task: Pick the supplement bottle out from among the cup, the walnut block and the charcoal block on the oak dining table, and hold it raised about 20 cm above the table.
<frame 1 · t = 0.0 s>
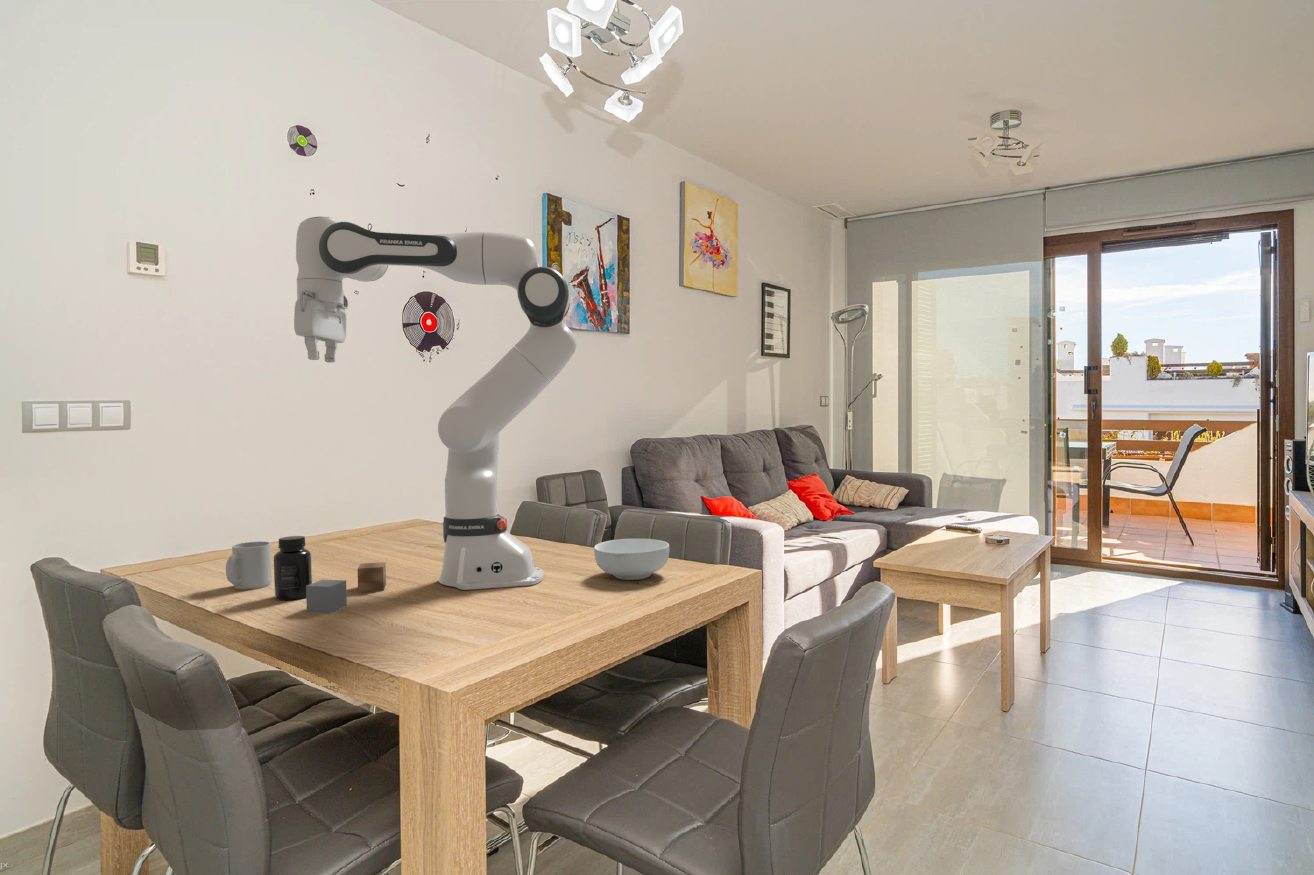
hand: (322, 361, 157), 48 cm above the table, fingers open, 8 cm apart
cereal bowl: (632, 576, 165), on the table
supplement bottle: (293, 597, 149), on the table
charcoal block: (327, 609, 140), on the table
cup: (247, 588, 157), on the table
walnut block: (372, 588, 155), on the table
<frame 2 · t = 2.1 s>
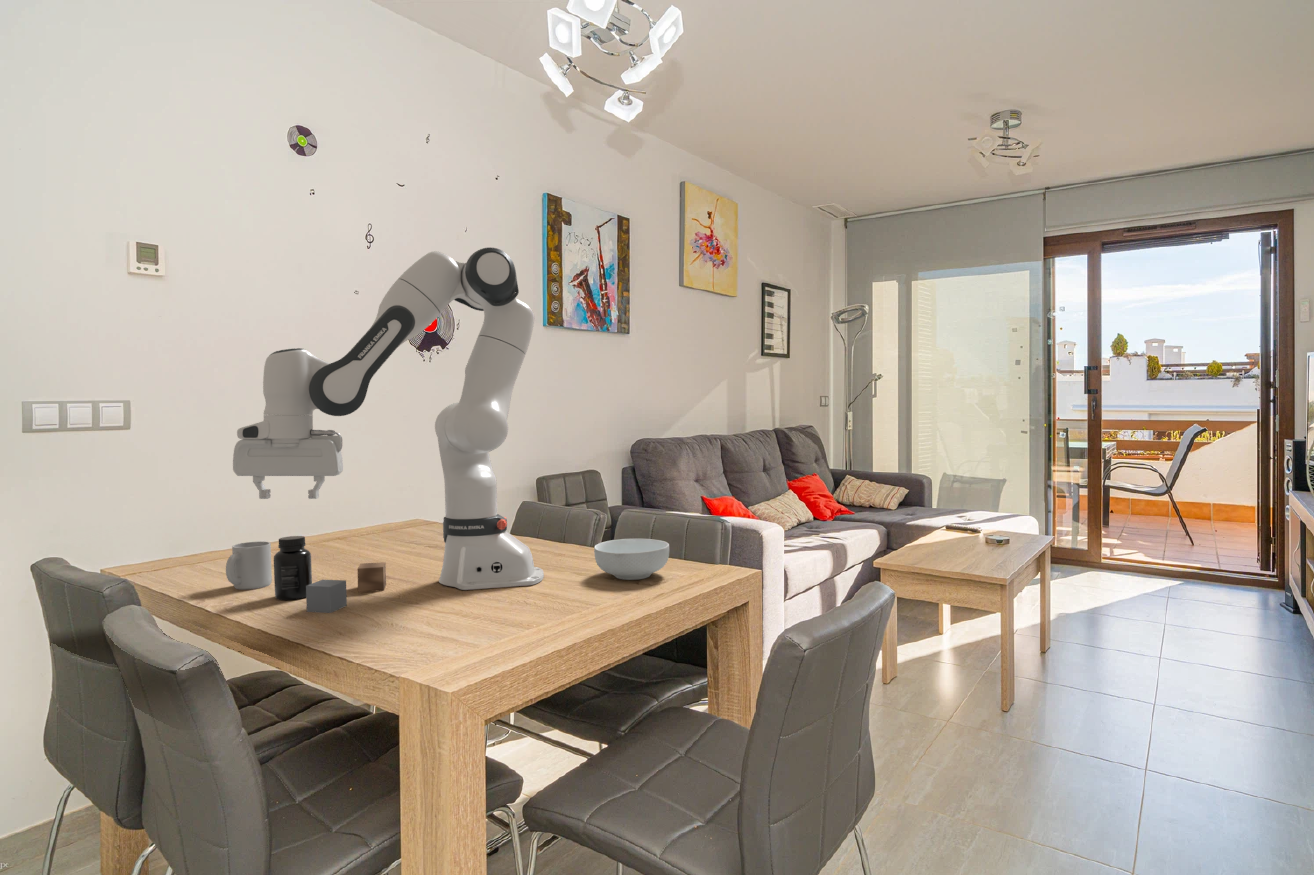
hand: (289, 498, 148), 20 cm above the table, fingers open, 8 cm apart
nothing on the table moved.
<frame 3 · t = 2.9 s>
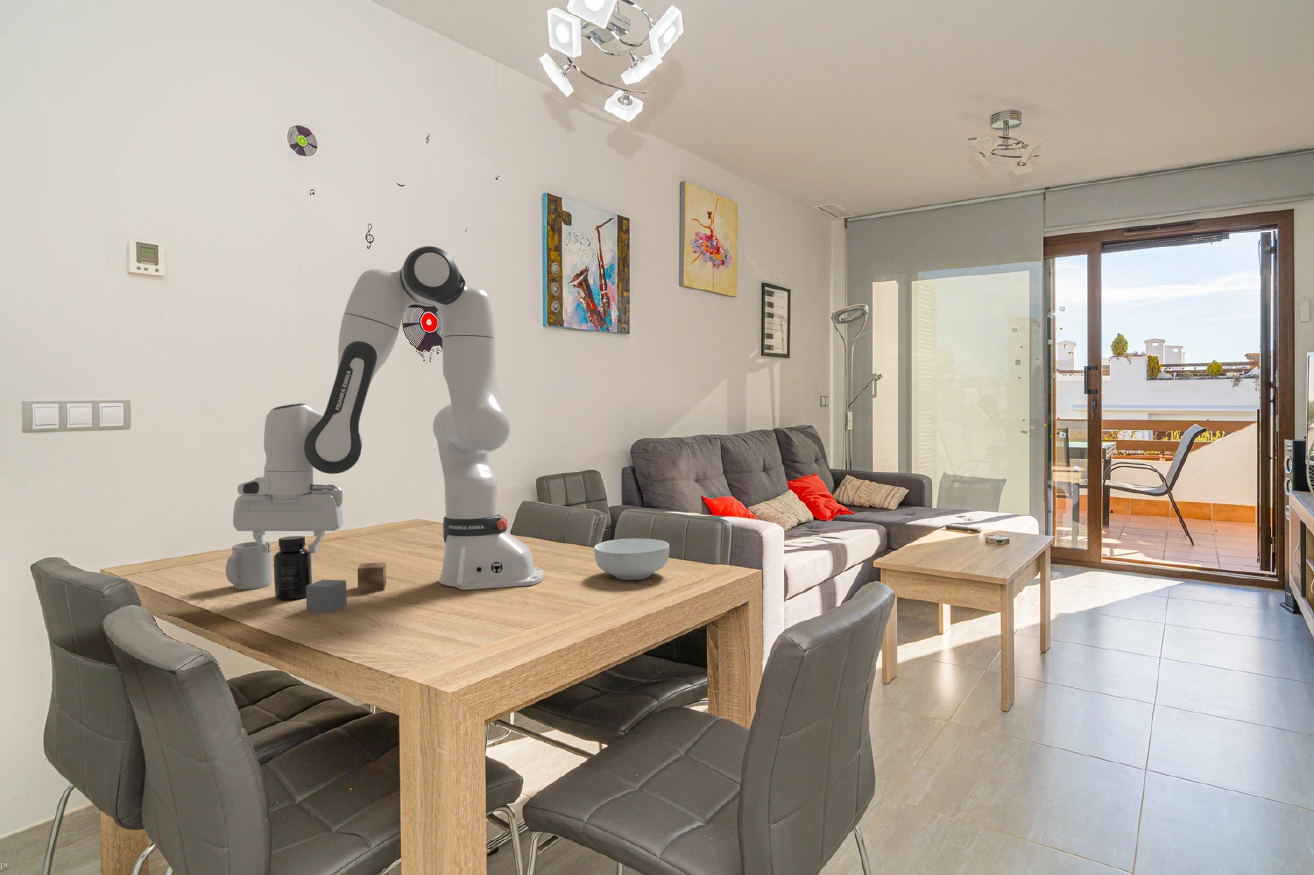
hand: (289, 552, 149), 9 cm above the table, fingers open, 8 cm apart
nothing on the table moved.
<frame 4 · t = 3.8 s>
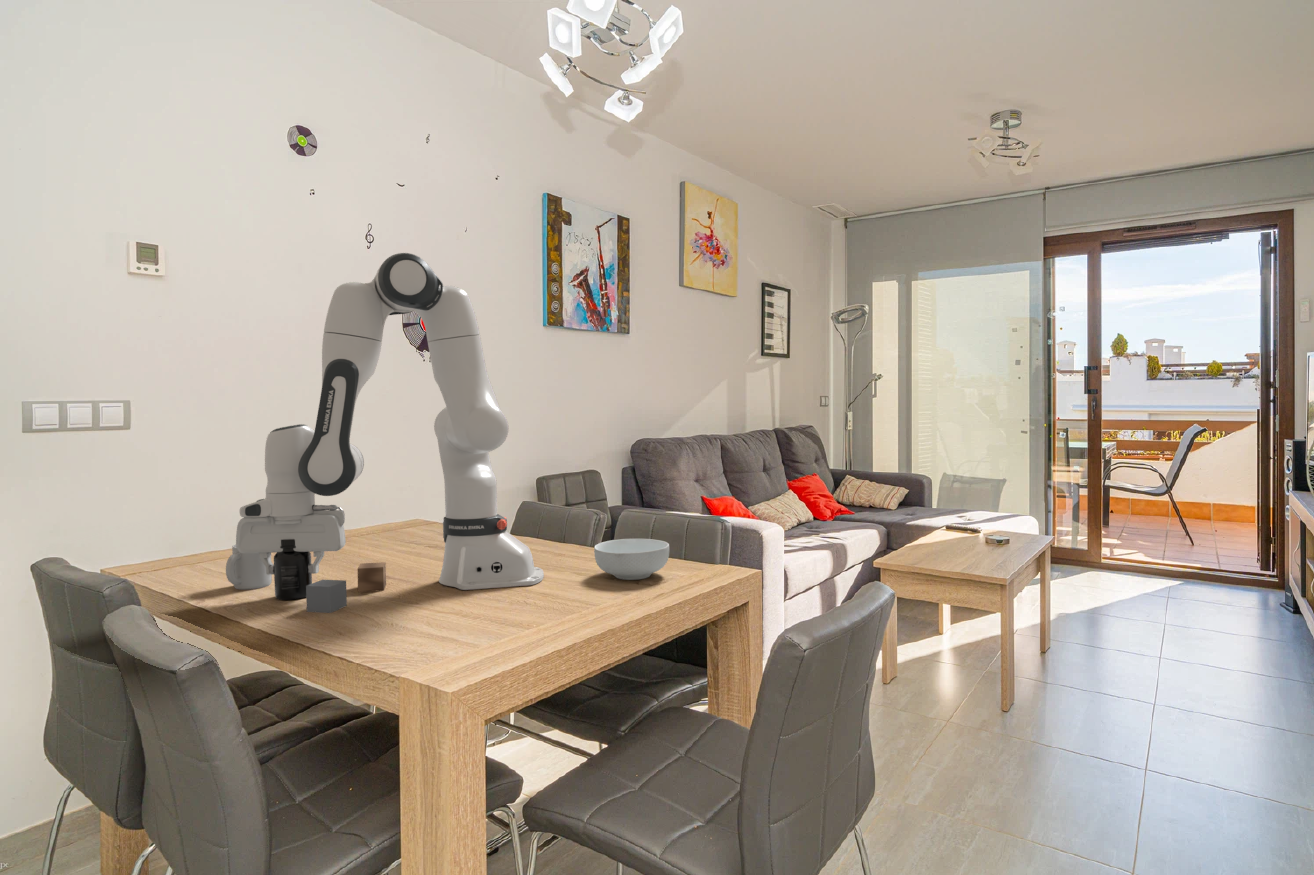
hand: (292, 573, 149), 5 cm above the table, fingers closed on supplement bottle, 7 cm apart
supplement bottle: (293, 597, 149), on the table, touching gripper
everything else where it was.
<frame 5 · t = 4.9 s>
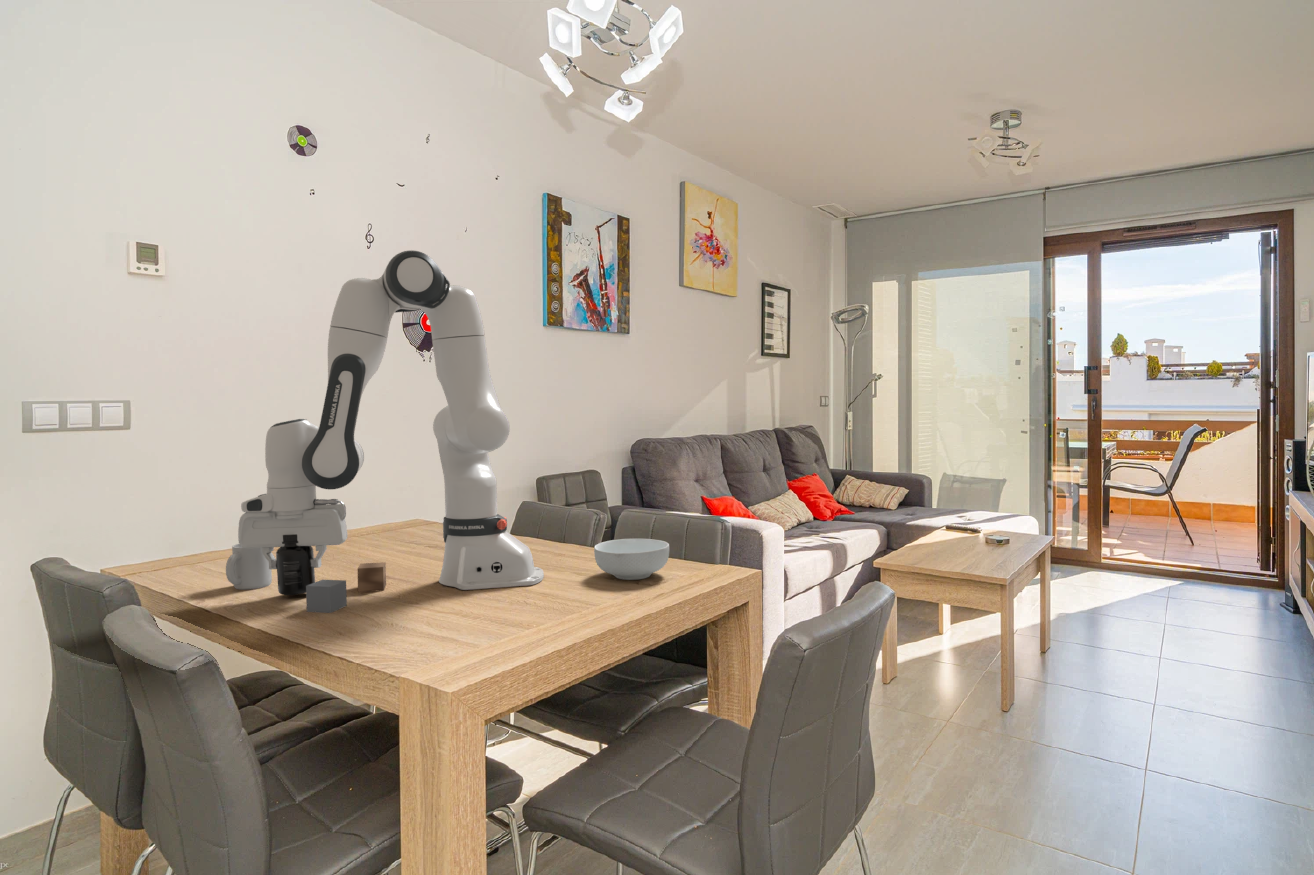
hand: (295, 568, 149), 6 cm above the table, fingers closed on supplement bottle, 7 cm apart
supplement bottle: (297, 592, 150), point 1 cm above the table, touching gripper
everything else where it was.
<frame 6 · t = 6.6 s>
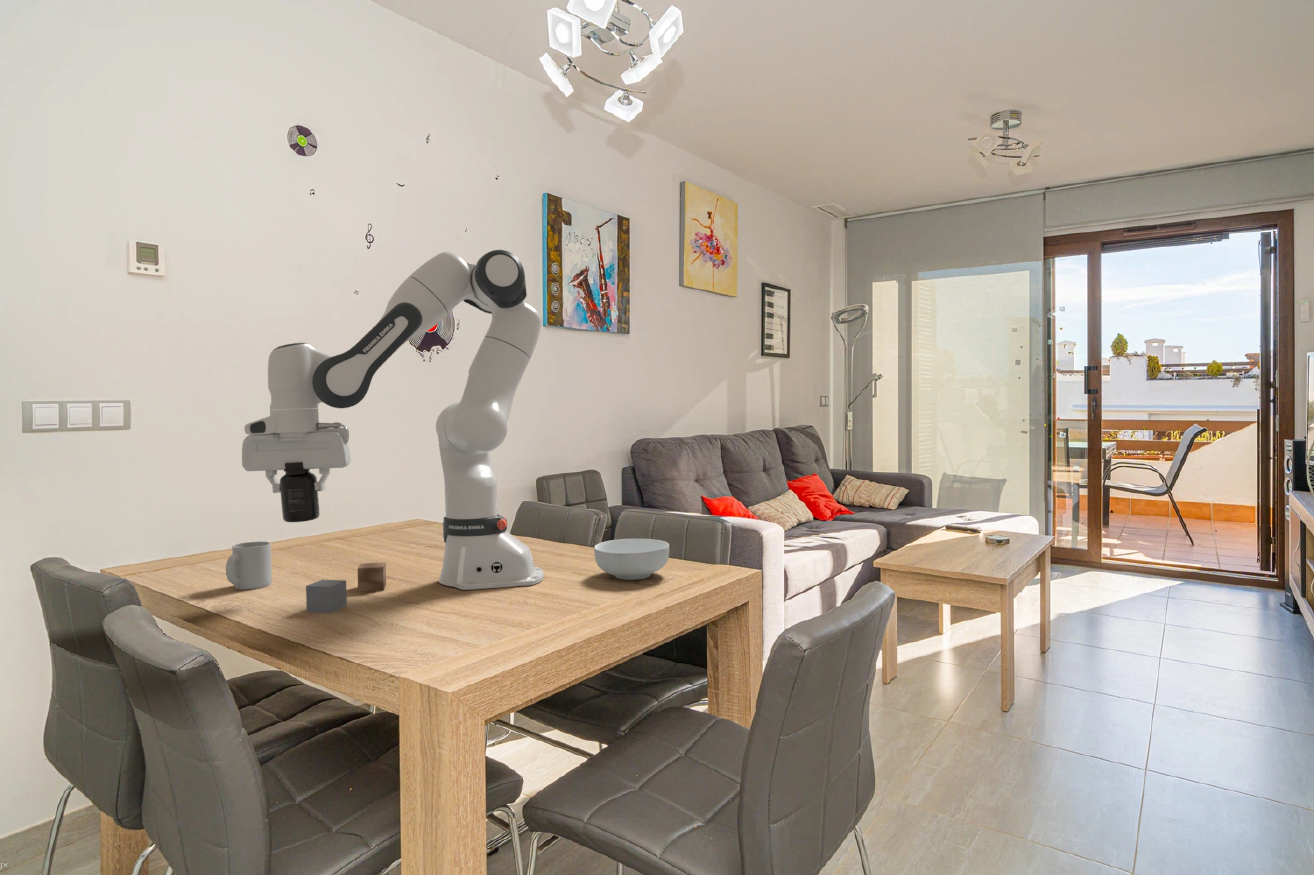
hand: (299, 491, 150), 21 cm above the table, fingers closed on supplement bottle, 7 cm apart
supplement bottle: (301, 520, 151), point 15 cm above the table, touching gripper
everything else where it was.
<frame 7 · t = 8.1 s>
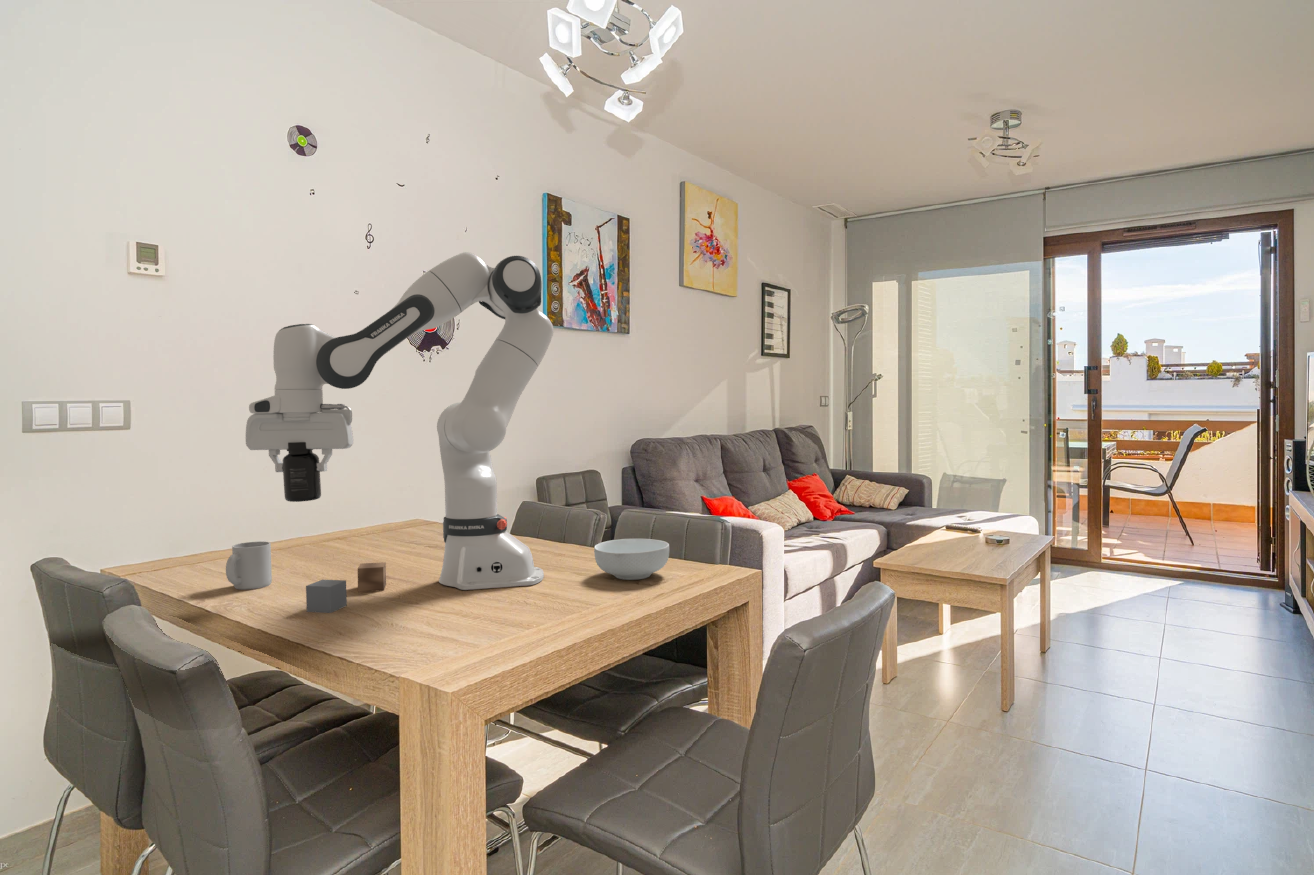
hand: (301, 471, 151), 25 cm above the table, fingers closed on supplement bottle, 7 cm apart
supplement bottle: (303, 500, 152), point 19 cm above the table, touching gripper
everything else where it was.
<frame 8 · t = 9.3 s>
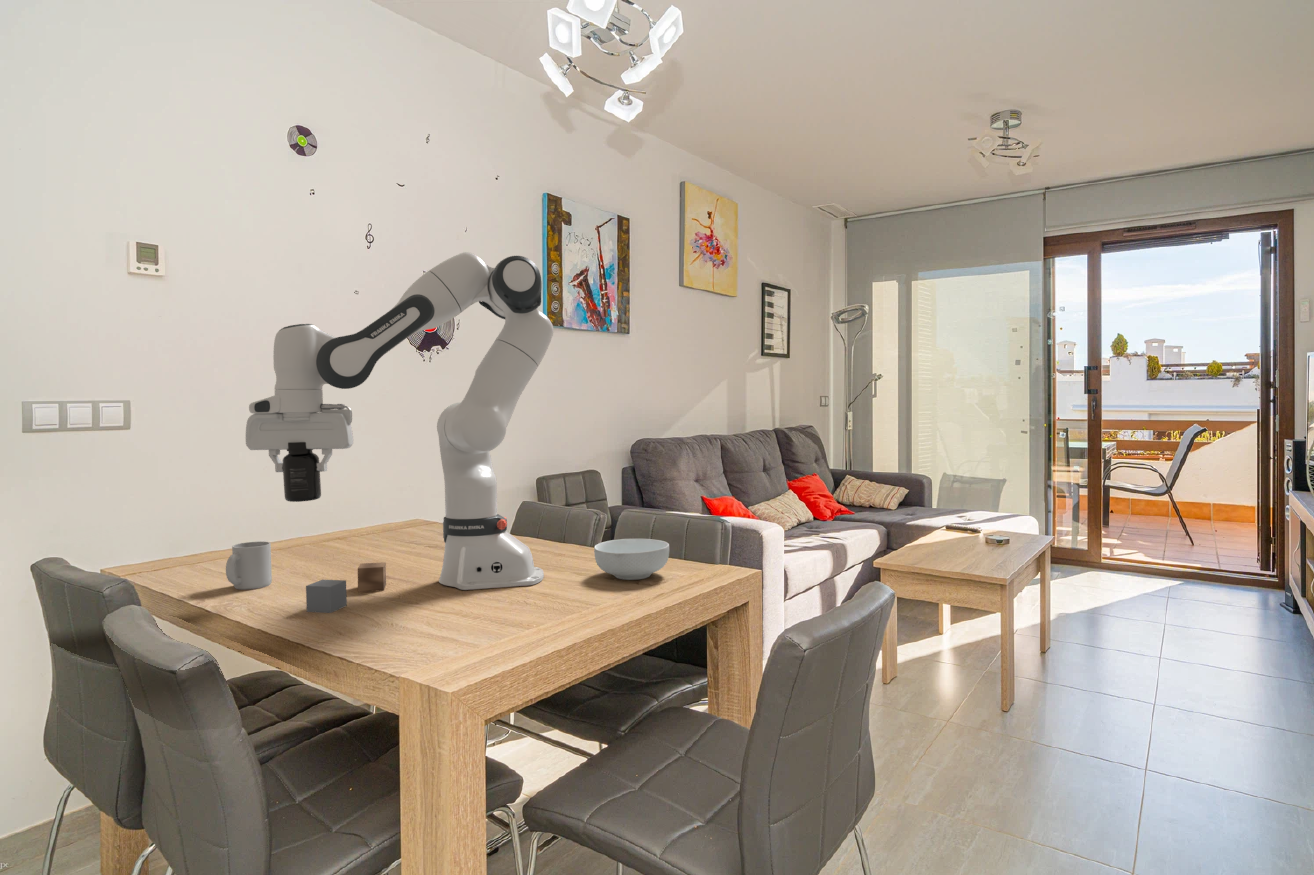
hand: (301, 471, 151), 25 cm above the table, fingers closed on supplement bottle, 7 cm apart
supplement bottle: (303, 500, 152), point 19 cm above the table, touching gripper
everything else where it was.
at the end: the gripper is holding supplement bottle; supplement bottle point 19.1 cm above the table; cup moved 0.2 cm from its start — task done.
